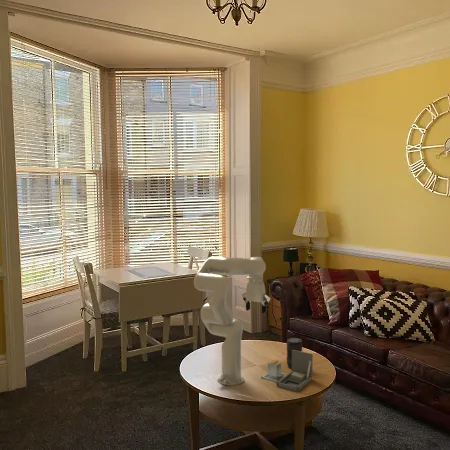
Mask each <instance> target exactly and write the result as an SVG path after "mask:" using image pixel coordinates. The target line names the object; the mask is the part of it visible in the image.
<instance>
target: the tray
mask: <svg viewBox="0 0 450 450" xmlns="http://www.w3.org/2000/svg"><path fill="white" fill-rule="evenodd" d="M287 374H288V373H284V372H281V377H280V378H278V379H277V380H276V379H272V378H268V371H267V372H266V373H265V374H263V375H262V376H261V377H260V379H263V380H266V381H271V382H275V383H277V382H278V381H279V380H281V379H282V378H283V377H285V376H286V375H287Z"/></svg>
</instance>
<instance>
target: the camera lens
mask: <svg viewBox="0 0 450 450" xmlns="http://www.w3.org/2000/svg"><path fill="white" fill-rule="evenodd" d="M292 350H296V351H301V352H303V340H302V339H301V338H297V337H289V338H288V339H287V340H286V365H287V368H288V369H291V370H292Z"/></svg>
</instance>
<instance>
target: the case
mask: <svg viewBox="0 0 450 450" xmlns="http://www.w3.org/2000/svg"><path fill="white" fill-rule="evenodd" d="M313 355H314V354H313V353H311V352H305V351H302V352H301V351H296V350H292V369H291V371H290V372H288V373H286V374H287V375H286V376H285V377H283V376H282V377H283V378H282V377H281V378H282V379H281V378H280V379H281V380H279V379H278V380H279V381H278V382H276V387H278V388H281V389H285V390H289V391H292V392H296V393H298V392H299V391H301V390H302V389H303V388H304V387H305V386H306V385H307V384H309V383H310V382H311V381H312V380H313V378H312V377H313V370H314V369H313Z"/></svg>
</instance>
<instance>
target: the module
mask: <svg viewBox="0 0 450 450" xmlns="http://www.w3.org/2000/svg"><path fill="white" fill-rule="evenodd" d="M267 372H268V375H267V378H271V379H275V380H279V379H281V378H282V375H281V373H282V361H279V360H278V359H273V360H272V359H271V361H269V362H267Z"/></svg>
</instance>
